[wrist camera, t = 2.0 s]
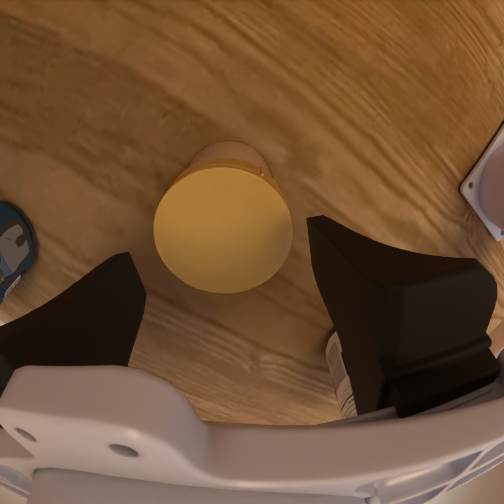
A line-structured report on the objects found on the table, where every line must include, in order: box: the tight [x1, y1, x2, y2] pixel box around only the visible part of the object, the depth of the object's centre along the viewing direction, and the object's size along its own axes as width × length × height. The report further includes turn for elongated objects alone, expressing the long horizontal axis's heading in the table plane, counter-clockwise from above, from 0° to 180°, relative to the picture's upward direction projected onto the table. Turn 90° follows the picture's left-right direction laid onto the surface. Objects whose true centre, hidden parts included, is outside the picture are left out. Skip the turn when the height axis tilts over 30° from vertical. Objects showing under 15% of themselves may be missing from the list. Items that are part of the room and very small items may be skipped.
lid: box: [153, 158, 293, 294], centre depth 14 cm, size 6×6×2 cm
